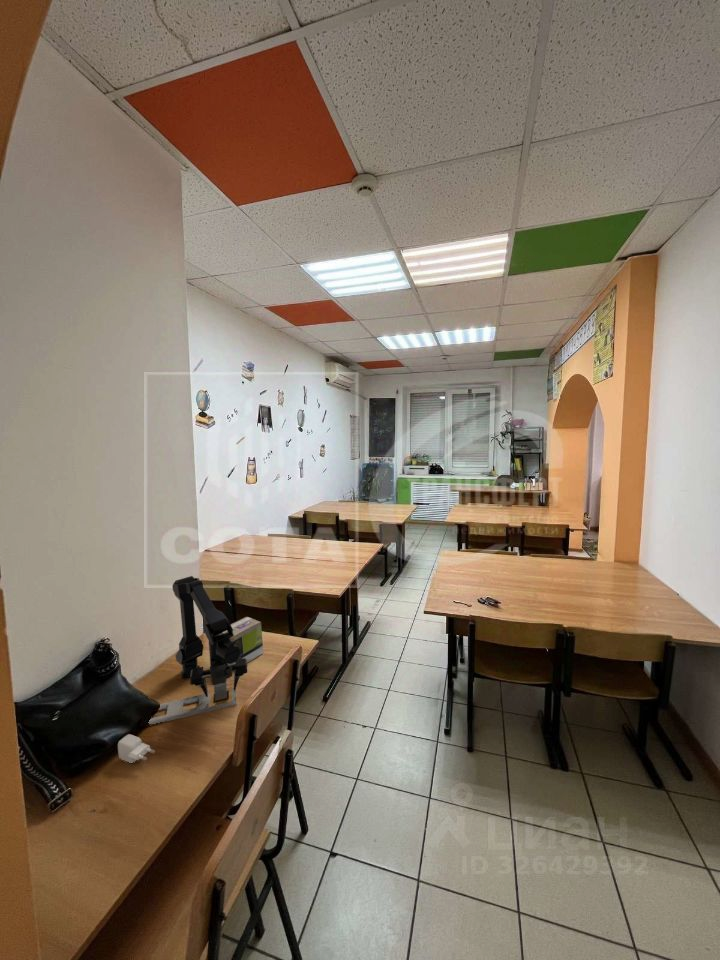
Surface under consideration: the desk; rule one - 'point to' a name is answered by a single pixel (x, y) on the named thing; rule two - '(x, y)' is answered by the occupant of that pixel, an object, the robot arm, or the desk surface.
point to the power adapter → (132, 748)
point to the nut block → (220, 692)
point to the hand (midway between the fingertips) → (220, 693)
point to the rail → (204, 706)
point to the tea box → (247, 638)
